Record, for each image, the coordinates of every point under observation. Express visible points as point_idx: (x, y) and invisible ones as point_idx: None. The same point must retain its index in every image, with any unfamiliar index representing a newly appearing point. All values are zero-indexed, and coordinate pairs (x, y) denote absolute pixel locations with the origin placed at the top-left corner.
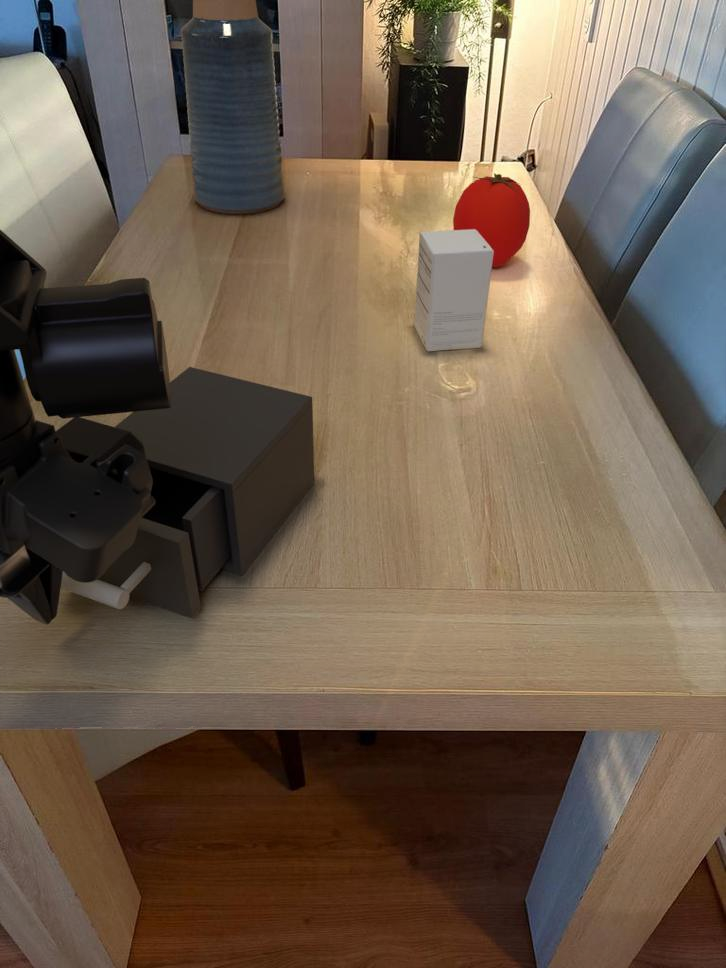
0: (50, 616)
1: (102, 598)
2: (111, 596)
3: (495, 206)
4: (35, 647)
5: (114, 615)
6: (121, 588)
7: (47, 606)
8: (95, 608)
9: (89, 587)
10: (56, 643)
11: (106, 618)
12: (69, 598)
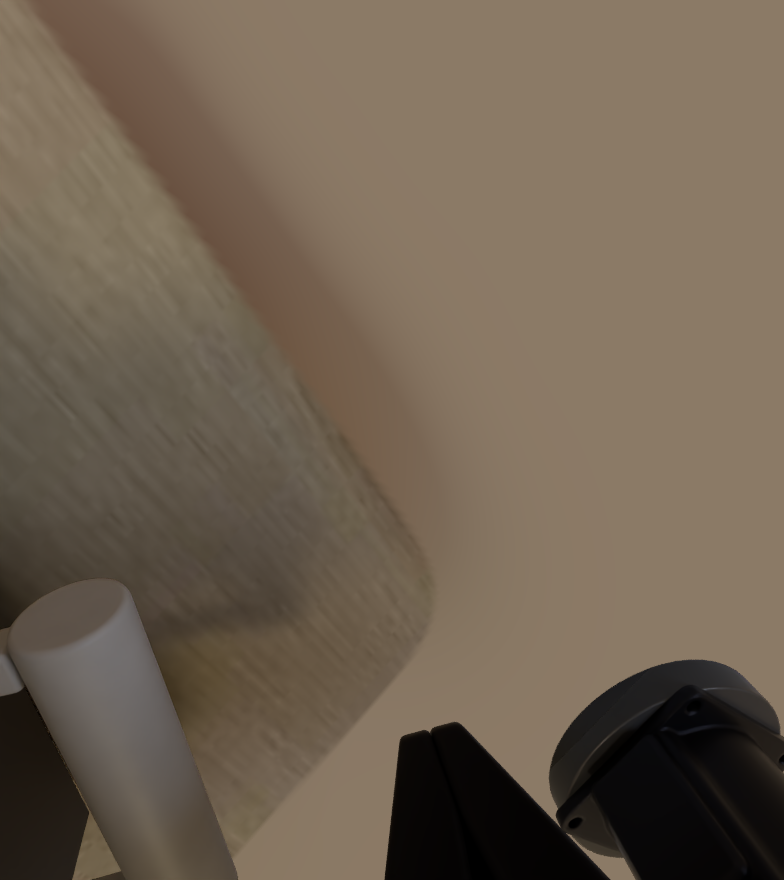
0: (448, 755)
1: (149, 687)
2: (111, 669)
3: None
4: (334, 660)
5: None
6: (26, 678)
7: (491, 834)
8: None
9: (153, 779)
10: (289, 635)
11: None
12: None
